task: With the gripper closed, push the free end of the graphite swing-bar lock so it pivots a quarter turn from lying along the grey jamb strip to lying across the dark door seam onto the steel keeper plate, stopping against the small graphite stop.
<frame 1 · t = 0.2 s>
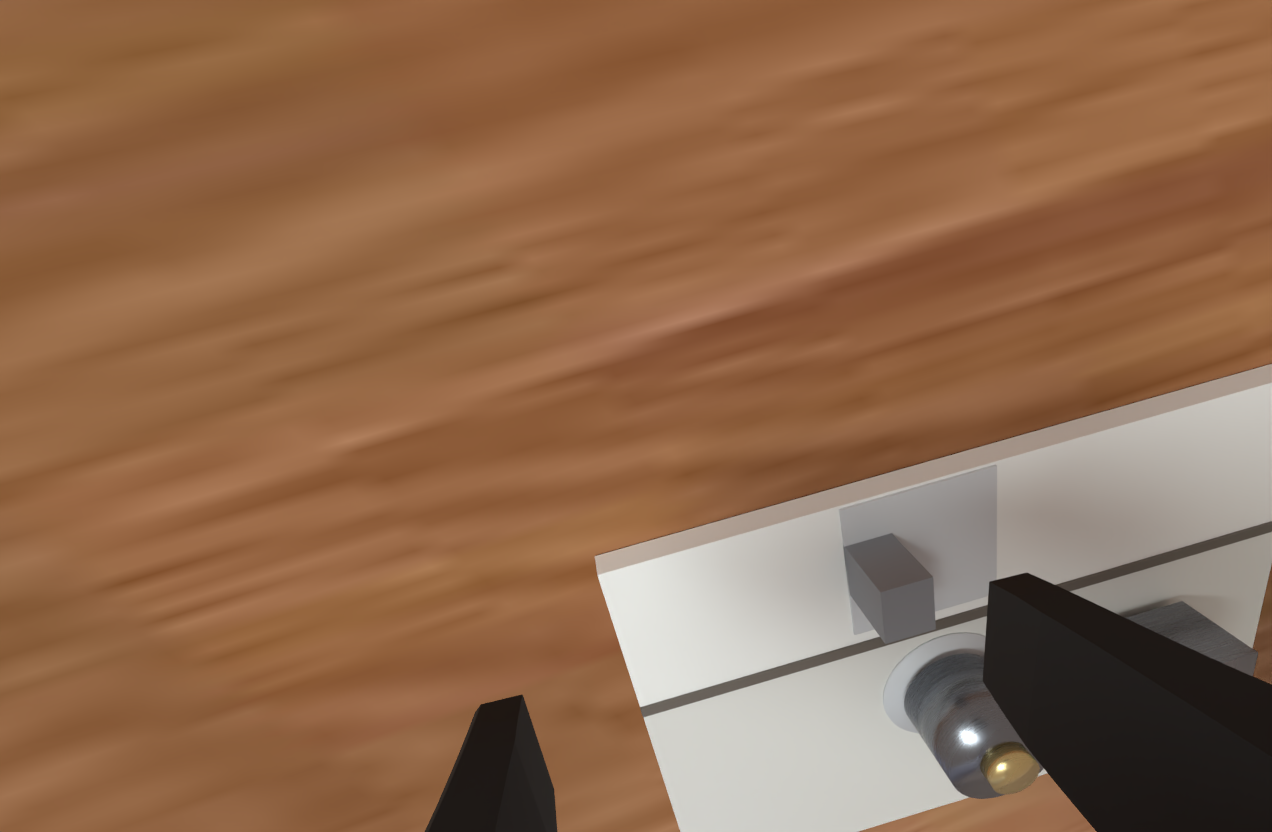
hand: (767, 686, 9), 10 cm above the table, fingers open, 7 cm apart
door board: (952, 637, 23), on the table
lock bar: (1079, 701, 21), point 3 cm above the table, hinge at -90.0°
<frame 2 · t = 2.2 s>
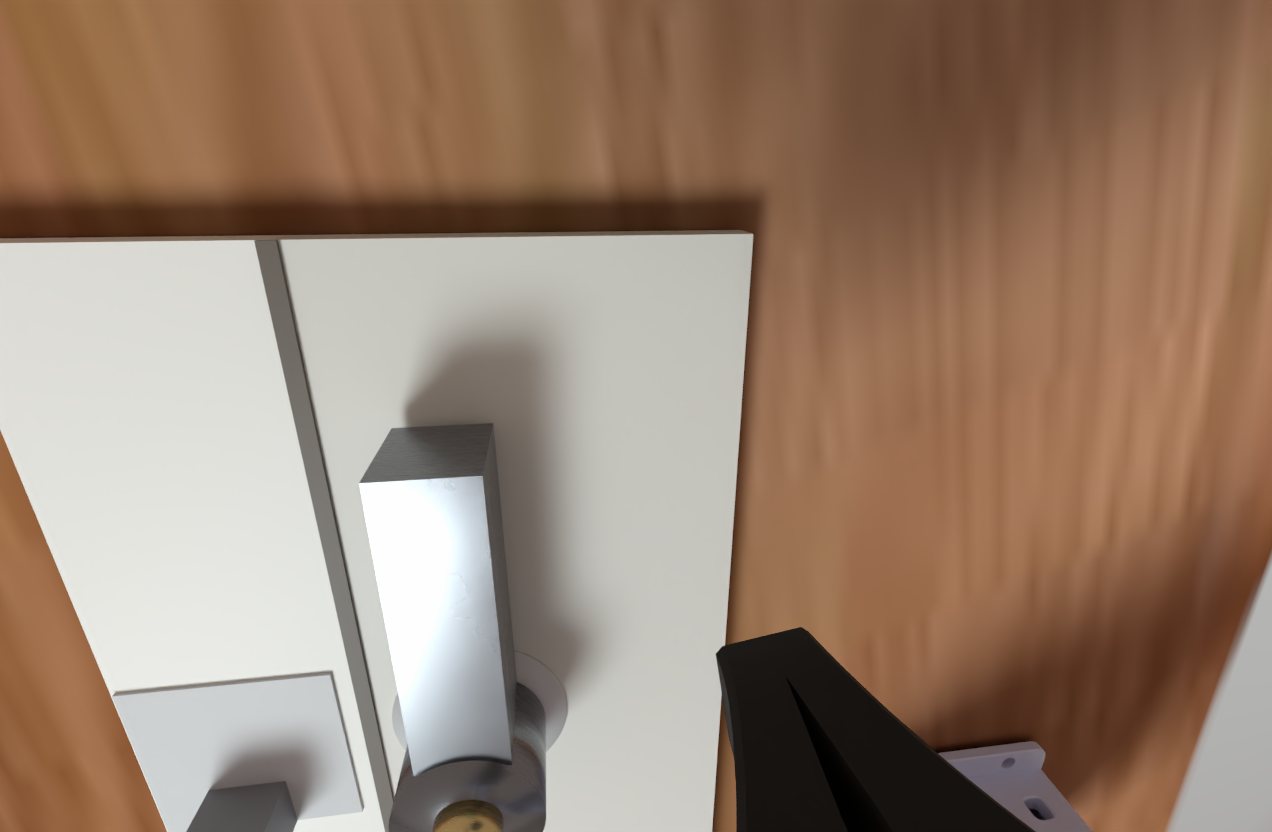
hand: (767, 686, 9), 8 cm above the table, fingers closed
door board: (446, 663, 18), on the table
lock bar: (458, 670, 14), point 3 cm above the table, hinge at -90.0°
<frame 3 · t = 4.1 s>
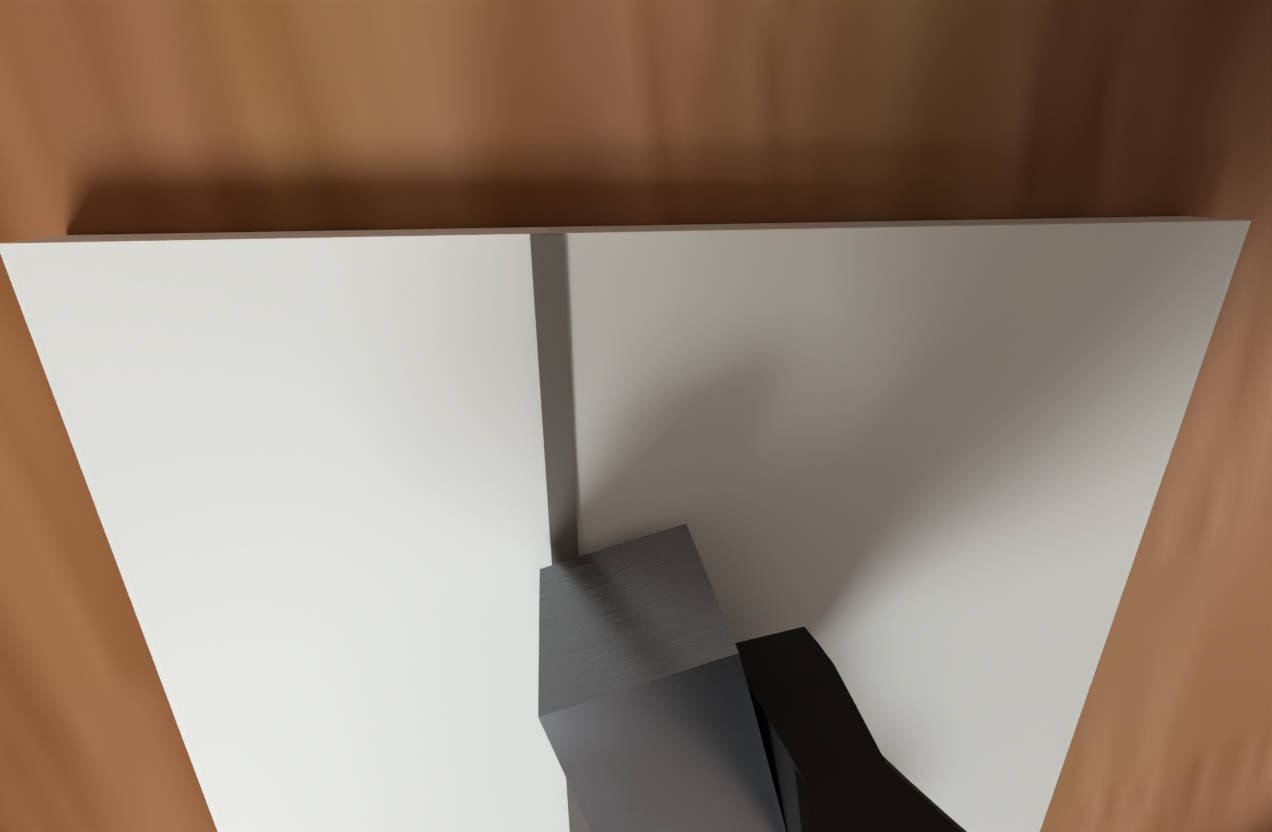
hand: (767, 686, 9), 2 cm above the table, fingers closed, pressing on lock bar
door board: (674, 811, 13), on the table
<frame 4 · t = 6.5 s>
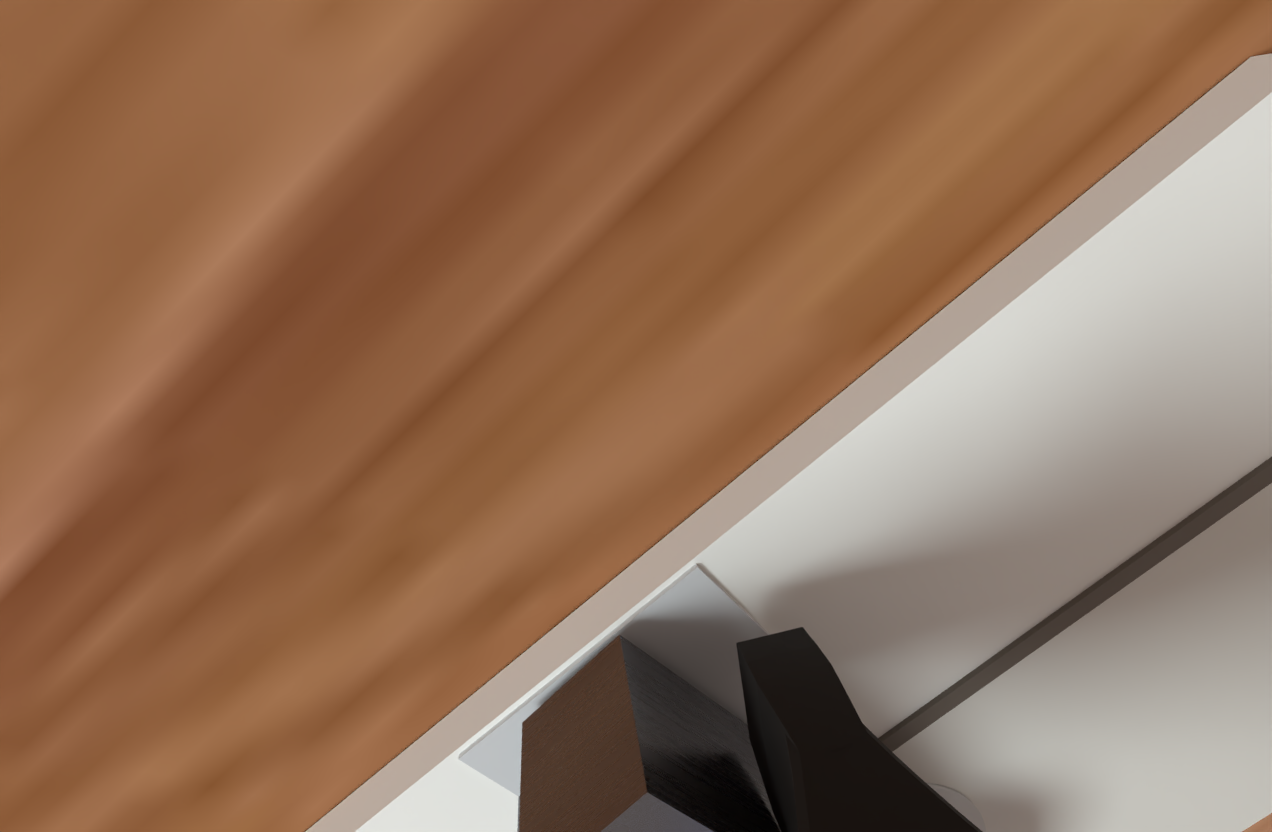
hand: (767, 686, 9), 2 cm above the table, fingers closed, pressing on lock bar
door board: (868, 773, 14), on the table
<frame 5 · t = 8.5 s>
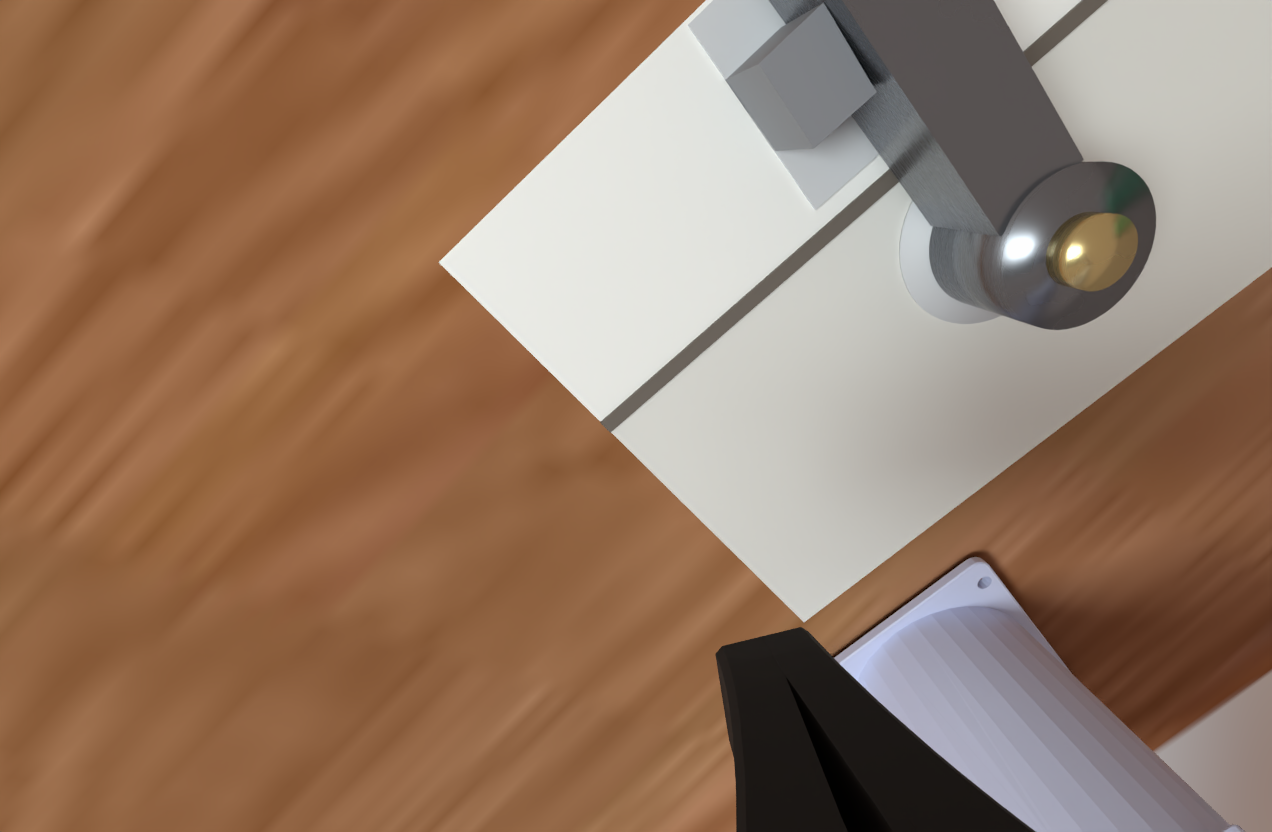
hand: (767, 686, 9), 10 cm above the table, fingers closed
door board: (974, 178, 17), on the table
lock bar: (965, 123, 13), point 3 cm above the table, hinge at 3.7°
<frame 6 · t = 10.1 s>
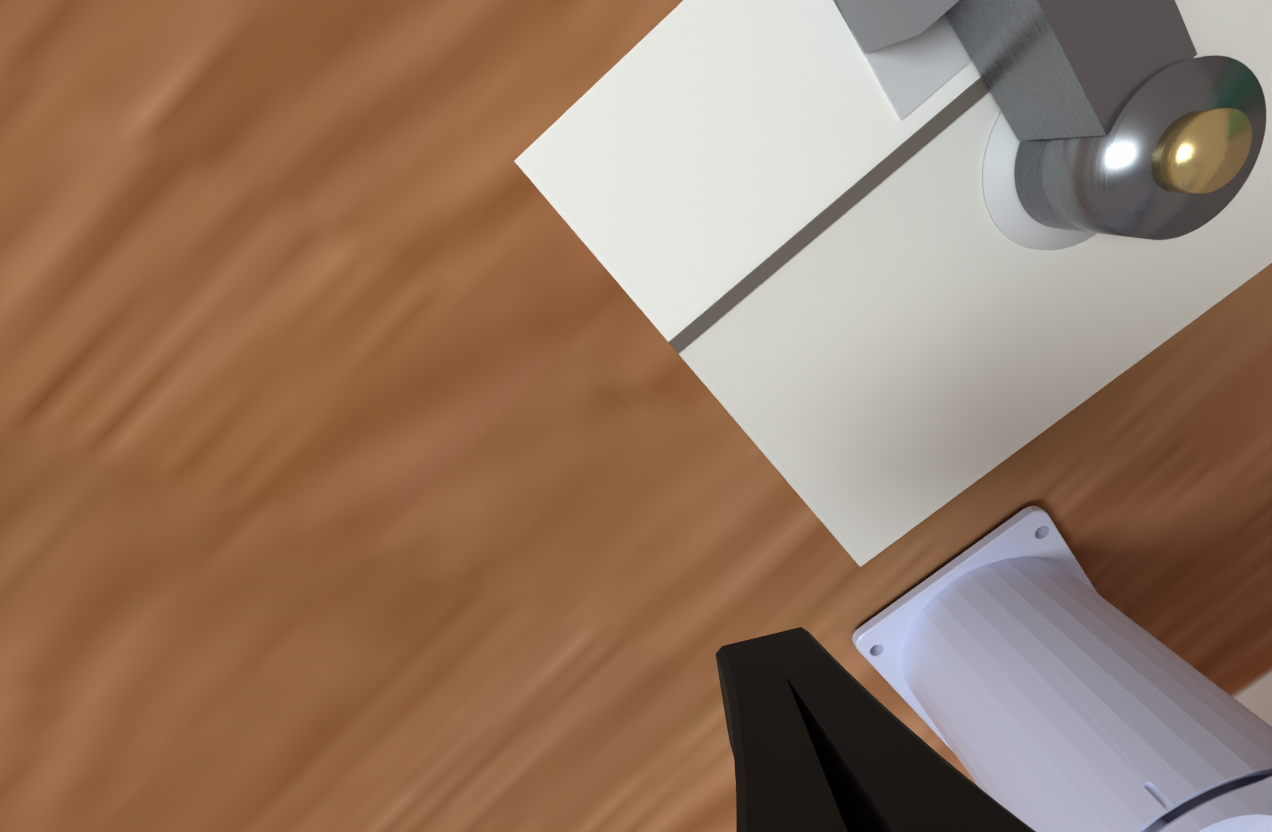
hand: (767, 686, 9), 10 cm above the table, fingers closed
door board: (1057, 98, 16), on the table
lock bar: (1073, 16, 13), point 3 cm above the table, hinge at 3.7°
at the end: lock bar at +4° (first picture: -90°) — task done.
